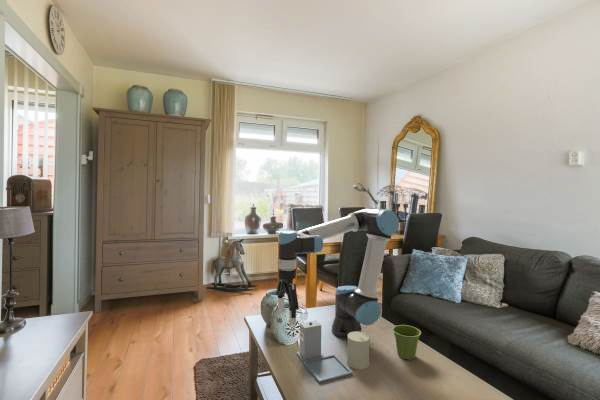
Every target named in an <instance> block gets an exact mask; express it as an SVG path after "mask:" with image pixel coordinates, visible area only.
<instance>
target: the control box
mask: <svg viewBox="0 0 600 400" xmlns="http://www.w3.org/2000/svg"><path fill="white" fill-rule="evenodd" d="M296 355H297V356H298V358H299V359H300V361H302V363H304V361H306V360H310V359H315V358H319V357H323V356H325V355H324V354H323V353H322V324H321V322H318V320H313V321H312V320H311V321H306V322H301V323H299V351H297V352H296Z"/></svg>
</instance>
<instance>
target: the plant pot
mask: <svg viewBox="0 0 600 400" xmlns="http://www.w3.org/2000/svg"><path fill="white" fill-rule="evenodd" d="M392 331H393V334H394V335H393V336H394V337H395V345H396V351H397V356H398V357H399V358H401V359H406V360H408V361H409V360H410V361H411V360H414V359H416V354H417V348H418V342H419V339H420V336H421V334H422V331H421V329H419V328H417V327H414V326H411V325H406V324H400V325H399V324H398V325H395V326H393V327H392Z"/></svg>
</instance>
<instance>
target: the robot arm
mask: <svg viewBox="0 0 600 400" xmlns="http://www.w3.org/2000/svg"><path fill="white" fill-rule="evenodd" d="M399 227H400V221H399V217H398V216H397V214H396V213H395V212H394V211H393V210H390V209H387V208H374V207H368V208H363V209H360V210H356V211H354V212H350V213H348V215H347V216H343V217H340V218H338V219H333V220H331V221H328V222H324V223H321V224H318V225H315V226H311V227H307V228H304V229H300V230H286V231H281V232H280V233H279V234H278V242H277V243H278V261H277V264H278V271H277V272H278V274H277V278H278V282H277V283H278V284H277V287H276V296H277V313H278V314H285V297H287V301H288V304H289V309H288V314H289V315H288V326H289V327H292V326H296V325H297V310H299V309H300V305H299V301H298V300H299V299H298V293H297V284H296V283H294V282H293V280H295V279H296V278H297V255H301V254H317V253H321V252H322V251H323V248H324V240H327V239H330V238H334V237H336V236H339V235H343V234H347V233H348V232H354V233H355V232H358V231H366V233H365V234H366V236H367V238H368V239H367V244H366V248H365V254H364V257H363V258H364V259H363V263H362V267H361V272H360V277H359V281H358V286H356V285H341V286H337V288H336V289H335V294H334V296H335V299H334V301H335V305H334V306H335V307H334V308H335V311H334V312H335V314H334V319H333V322H332V324H331V333H332V334H333V335H335V336H337V337H338V338H344V339H348V336H347V335H348V334H349V333H350V332H355V331H358V332H363V331H362V325H363V326H371V325H374V324H375V322H377V321H378V320H379V319H380V317H381V313H382V307H381V306H380V303H378V302H379V297H380V296H379V295H378V293H377V289H378V285H379V281H380V275H381V272H382V271H381V270H382V267H383V266H382V265H383V262H384V257H385V252H386V249H387V248H386V247H387V243H388V242H389V241H391V239H392V236H394V235H395V234H396V233H397V232H398V230H399ZM285 295H286V296H285ZM361 324H362V325H361Z"/></svg>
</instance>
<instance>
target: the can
mask: <svg viewBox="0 0 600 400" xmlns="http://www.w3.org/2000/svg"><path fill="white" fill-rule="evenodd" d="M347 336H348V338H347V356H346V357H347V359H346V364H347V365H348V367H350V368H351V369H355V370H366V369H367V368H369V366H370V335H369V334H368V333H365V332H363V331H362V332H358V331H355V332H350V333H349V334H348V335H347Z"/></svg>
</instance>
